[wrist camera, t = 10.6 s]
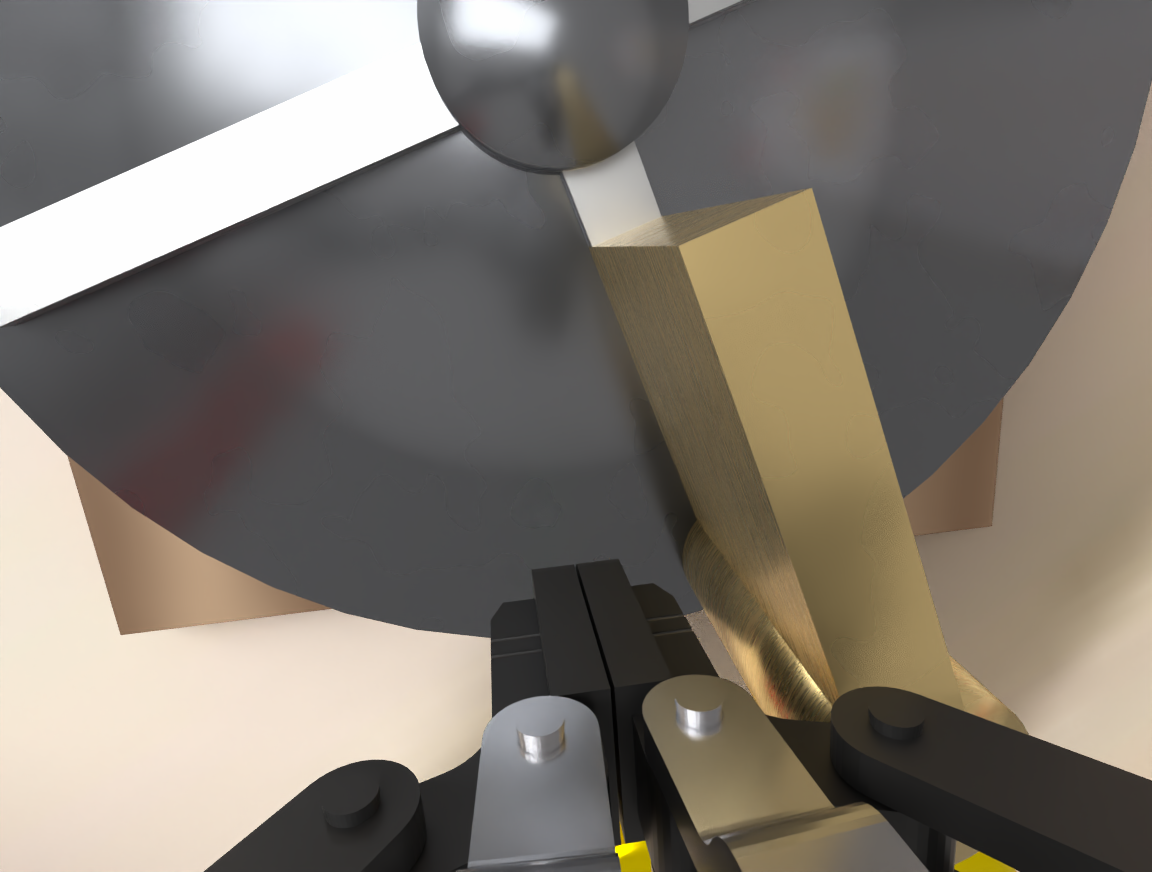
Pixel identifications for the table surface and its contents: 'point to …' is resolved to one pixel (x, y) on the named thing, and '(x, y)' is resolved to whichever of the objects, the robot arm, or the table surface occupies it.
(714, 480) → the handwheel
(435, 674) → the table surface
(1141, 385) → the table surface
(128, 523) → the winch base
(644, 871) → the element tile
